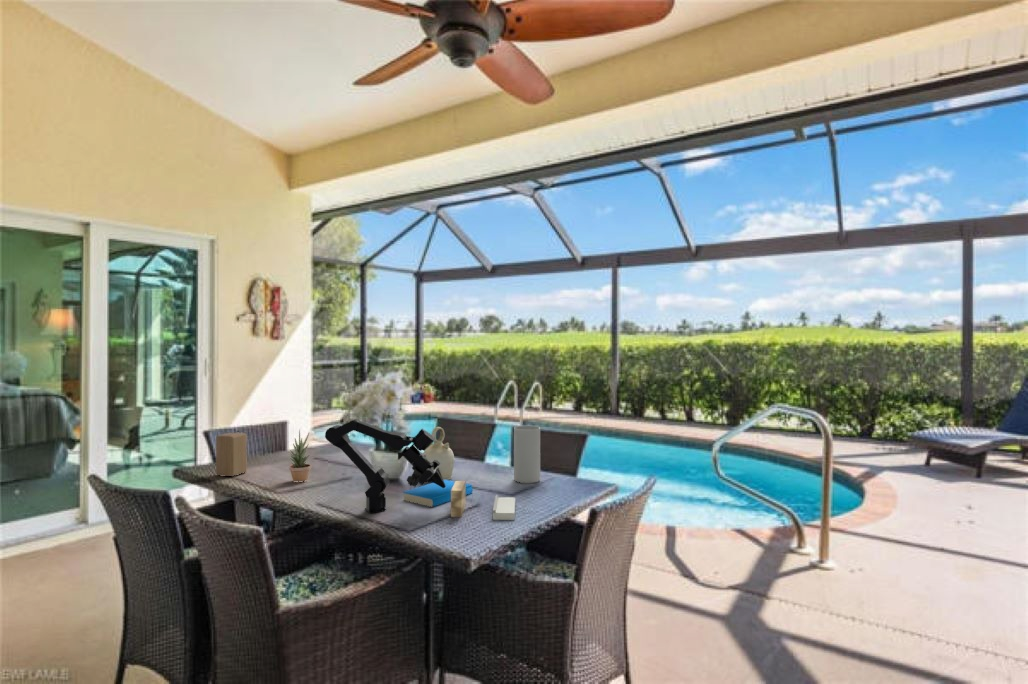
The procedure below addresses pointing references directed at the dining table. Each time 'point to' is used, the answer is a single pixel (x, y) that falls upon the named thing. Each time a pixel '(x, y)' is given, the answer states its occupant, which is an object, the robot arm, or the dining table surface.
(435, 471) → the robot arm
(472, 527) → the dining table surface
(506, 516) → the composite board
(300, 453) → the potted plant
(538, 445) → the cylinder vase
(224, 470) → the wooden block
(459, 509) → the oak plank
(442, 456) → the jug
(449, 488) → the book
